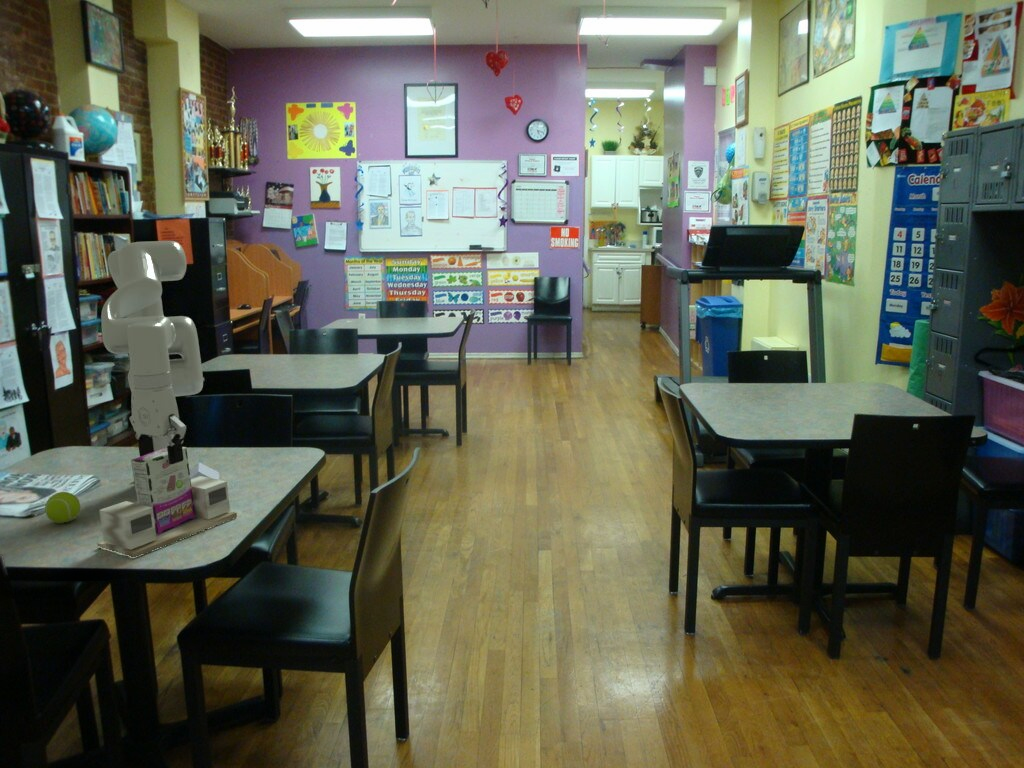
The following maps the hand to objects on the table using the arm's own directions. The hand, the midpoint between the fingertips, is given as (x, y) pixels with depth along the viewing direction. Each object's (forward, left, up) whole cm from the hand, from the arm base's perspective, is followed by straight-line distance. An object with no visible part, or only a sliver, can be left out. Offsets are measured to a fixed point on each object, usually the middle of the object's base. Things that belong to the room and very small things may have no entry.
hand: (161, 459), depth 180 cm
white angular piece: (-14, +20, -17) cm, 30 cm away
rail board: (+1, 0, -16) cm, 16 cm away
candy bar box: (0, 0, -15) cm, 15 cm away
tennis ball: (-27, -7, -17) cm, 33 cm away
